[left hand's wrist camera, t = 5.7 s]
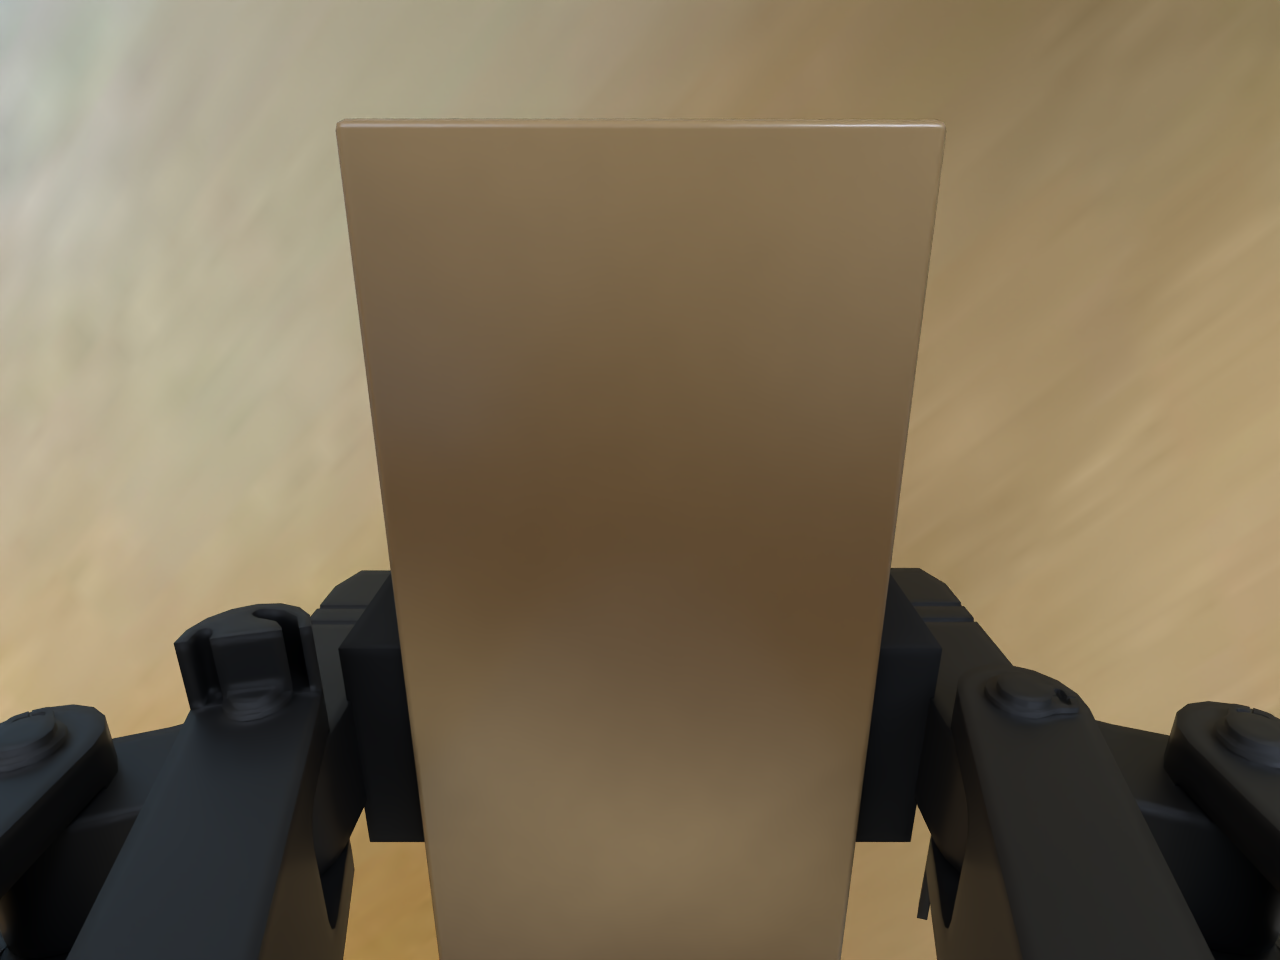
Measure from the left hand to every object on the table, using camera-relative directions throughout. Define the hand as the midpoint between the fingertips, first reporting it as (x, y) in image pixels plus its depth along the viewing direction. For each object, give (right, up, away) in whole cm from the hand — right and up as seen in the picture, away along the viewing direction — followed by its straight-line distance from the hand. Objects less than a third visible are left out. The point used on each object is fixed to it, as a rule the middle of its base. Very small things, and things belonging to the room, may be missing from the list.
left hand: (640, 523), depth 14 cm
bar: (0, -27, +10) cm, 29 cm away
